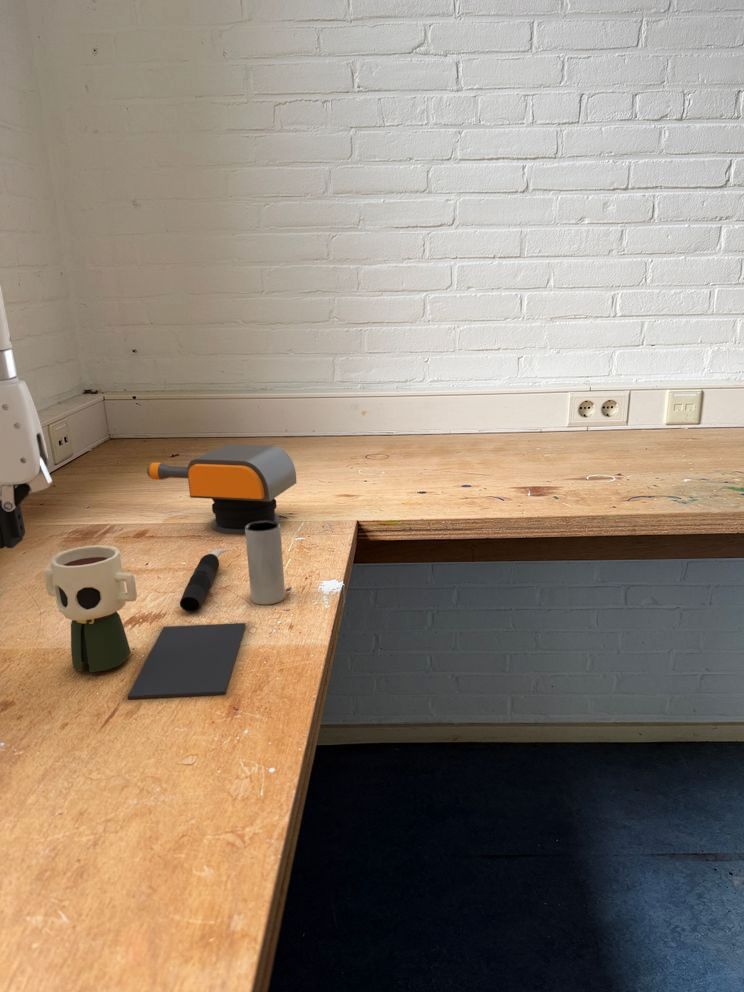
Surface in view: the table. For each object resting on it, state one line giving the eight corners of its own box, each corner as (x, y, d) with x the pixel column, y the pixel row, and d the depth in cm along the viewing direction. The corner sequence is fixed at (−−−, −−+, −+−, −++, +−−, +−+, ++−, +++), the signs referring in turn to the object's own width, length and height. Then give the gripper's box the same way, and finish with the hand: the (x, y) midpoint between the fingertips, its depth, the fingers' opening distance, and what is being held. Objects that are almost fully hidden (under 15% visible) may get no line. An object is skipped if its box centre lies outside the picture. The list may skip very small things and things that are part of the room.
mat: (127, 699, 82) (127, 696, 82) (163, 629, 98) (163, 626, 98) (225, 694, 83) (224, 691, 83) (245, 625, 99) (245, 622, 99)
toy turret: (176, 506, 150) (168, 440, 146) (301, 513, 144) (296, 444, 140) (133, 530, 137) (123, 458, 133) (269, 539, 131) (262, 463, 127)
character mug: (40, 674, 88) (19, 564, 84) (77, 646, 95) (60, 542, 90) (129, 682, 86) (112, 569, 82) (162, 653, 92) (148, 547, 88)
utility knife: (207, 559, 122) (205, 540, 121) (233, 558, 123) (232, 539, 122) (178, 616, 102) (176, 595, 101) (210, 615, 102) (208, 593, 101)
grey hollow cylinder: (245, 603, 106) (238, 529, 102) (260, 590, 110) (254, 519, 107) (276, 606, 104) (270, 532, 101) (291, 593, 109) (285, 521, 105)
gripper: (-125, 378, 75) (-80, 560, 81) (37, 372, 76) (69, 552, 82) (-84, 368, 82) (-46, 536, 88) (64, 363, 83) (92, 529, 89)
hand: (10, 543), depth 85 cm, fingers closed
